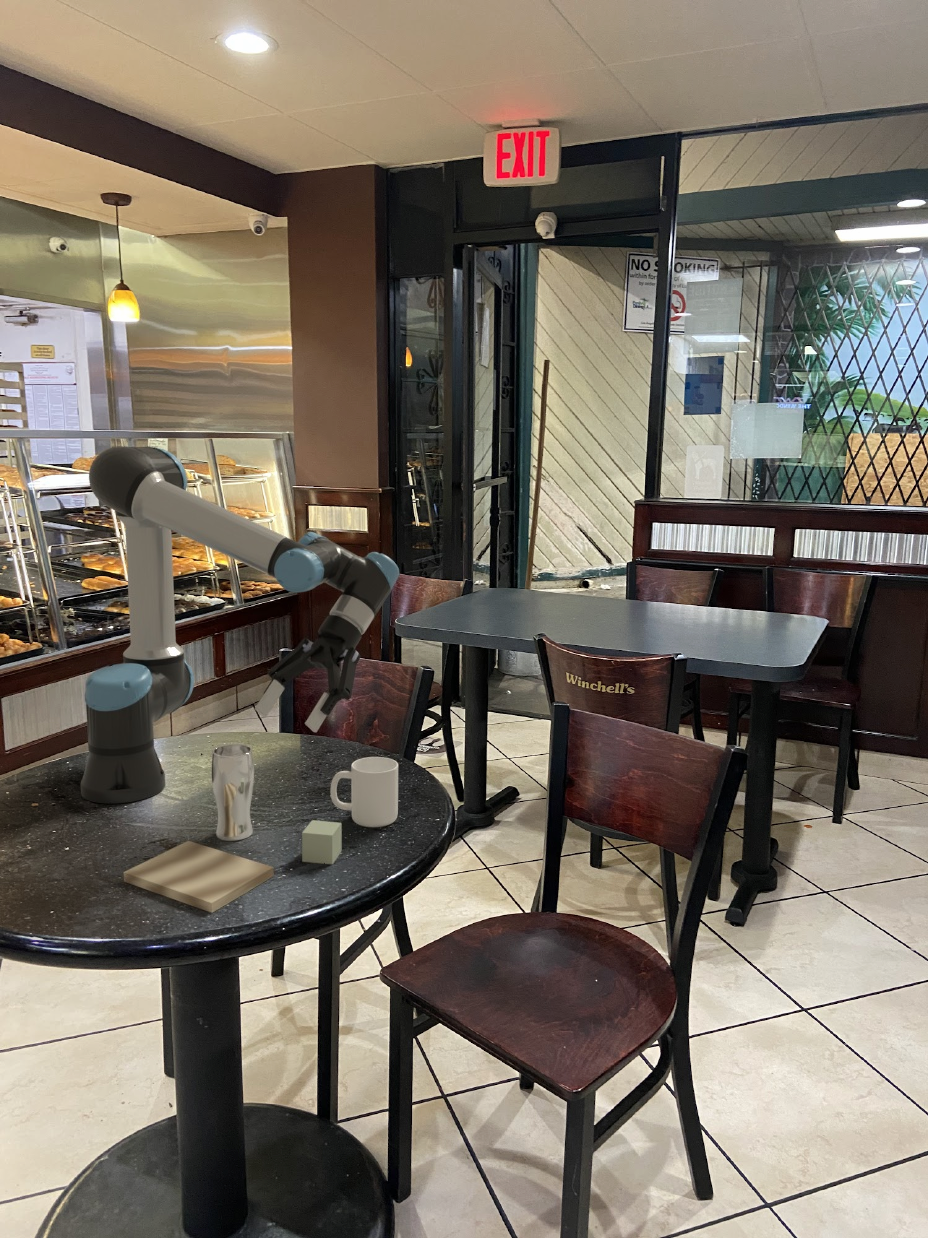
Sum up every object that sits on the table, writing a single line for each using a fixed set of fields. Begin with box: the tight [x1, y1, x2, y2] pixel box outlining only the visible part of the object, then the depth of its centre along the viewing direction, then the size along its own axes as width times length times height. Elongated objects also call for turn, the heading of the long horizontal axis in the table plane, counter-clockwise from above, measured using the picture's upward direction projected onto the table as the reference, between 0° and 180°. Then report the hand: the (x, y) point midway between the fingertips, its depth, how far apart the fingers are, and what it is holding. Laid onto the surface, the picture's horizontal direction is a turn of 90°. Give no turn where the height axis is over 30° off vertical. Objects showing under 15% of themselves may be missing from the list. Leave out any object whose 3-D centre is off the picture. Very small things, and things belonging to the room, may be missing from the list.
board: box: [123, 840, 275, 914], centre depth 135 cm, size 18×13×2 cm
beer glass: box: [211, 743, 255, 842], centre depth 150 cm, size 7×7×15 cm
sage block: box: [301, 819, 343, 865], centre depth 143 cm, size 5×5×5 cm
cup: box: [330, 756, 399, 828], centre depth 158 cm, size 8×12×10 cm
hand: (284, 720), depth 157 cm, fingers open, 13 cm apart
